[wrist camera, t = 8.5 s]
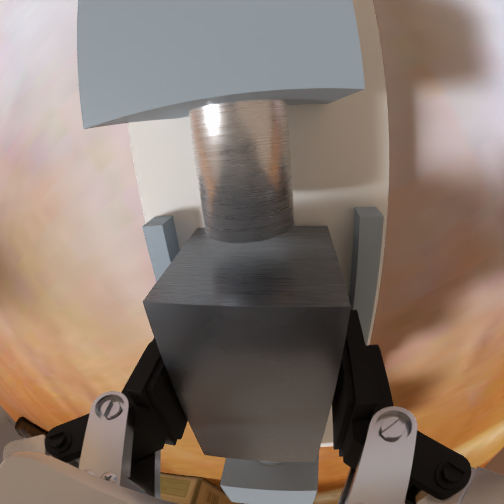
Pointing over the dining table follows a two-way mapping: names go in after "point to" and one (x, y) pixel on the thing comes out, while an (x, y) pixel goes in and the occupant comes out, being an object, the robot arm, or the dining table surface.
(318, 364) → the block
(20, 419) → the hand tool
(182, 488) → the food packaging
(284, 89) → the shaft stand
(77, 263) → the dining table surface
